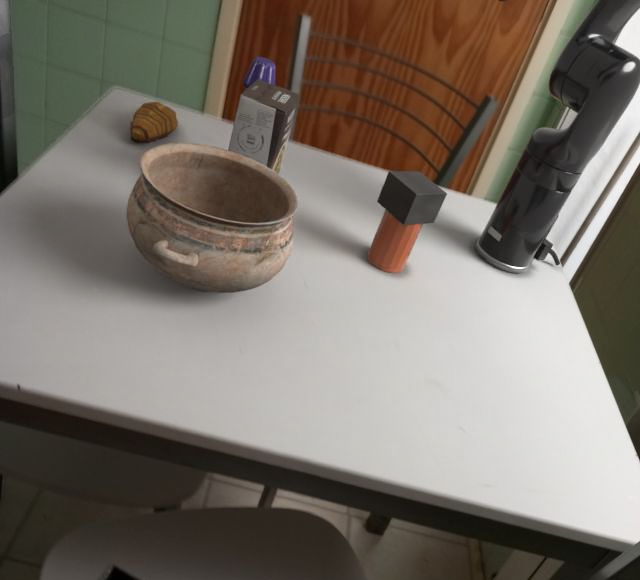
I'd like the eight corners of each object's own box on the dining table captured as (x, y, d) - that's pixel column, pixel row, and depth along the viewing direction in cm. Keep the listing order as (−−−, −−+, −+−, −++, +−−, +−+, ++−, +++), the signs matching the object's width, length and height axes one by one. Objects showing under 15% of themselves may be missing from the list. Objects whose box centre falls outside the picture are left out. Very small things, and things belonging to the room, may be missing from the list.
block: (407, 200, 98) (419, 171, 95) (433, 223, 95) (447, 193, 92) (376, 201, 94) (388, 171, 91) (403, 225, 91) (416, 194, 88)
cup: (387, 250, 103) (407, 201, 98) (410, 271, 100) (432, 222, 95) (359, 252, 99) (379, 202, 94) (382, 274, 97) (404, 224, 92)
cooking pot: (178, 209, 92) (194, 119, 85) (305, 266, 92) (333, 181, 84) (71, 286, 73) (79, 179, 65) (229, 359, 73) (257, 261, 65)
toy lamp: (223, 162, 107) (248, 50, 97) (252, 169, 109) (280, 59, 98) (223, 175, 104) (249, 60, 93) (253, 183, 105) (282, 70, 95)
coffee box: (256, 227, 95) (287, 112, 85) (212, 211, 95) (238, 92, 85) (272, 203, 102) (302, 94, 92) (231, 187, 102) (257, 76, 91)
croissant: (155, 155, 102) (160, 122, 99) (113, 137, 102) (116, 103, 99) (190, 130, 112) (195, 99, 109) (152, 114, 112) (156, 83, 109)
